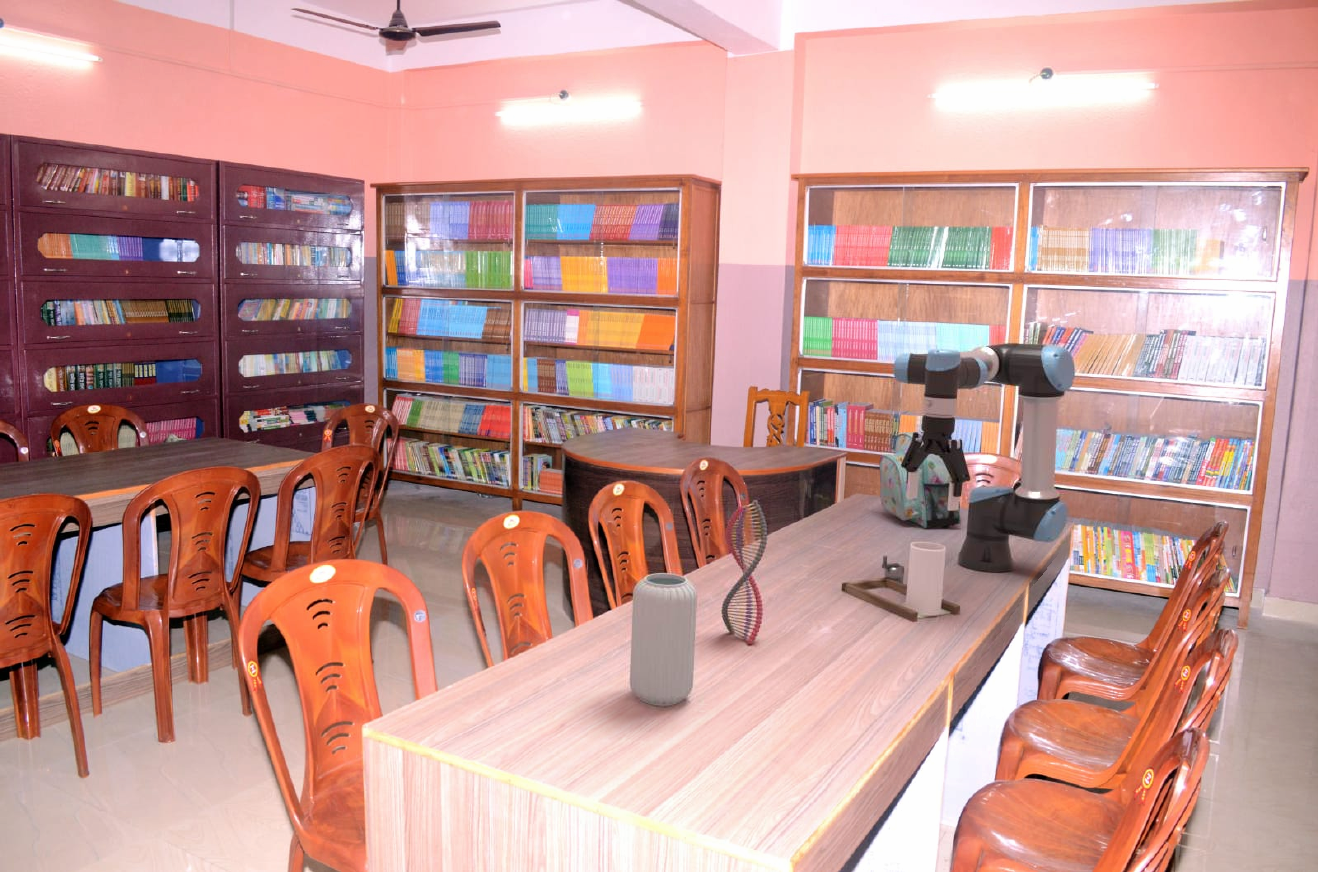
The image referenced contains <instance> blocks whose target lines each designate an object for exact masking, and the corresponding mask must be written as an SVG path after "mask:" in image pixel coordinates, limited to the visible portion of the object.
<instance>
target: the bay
mask: <svg viewBox="0 0 1318 872" xmlns="http://www.w3.org/2000/svg"><path fill="white" fill-rule="evenodd" d="M879 588H880V589H881V588H888V589H891V590H893V591H896V592H897V593H900V594H902V595H905V596H906V594H907V584H905V583H904V582H903V583H900V582H898V581H895V580H889V579H886V578H884V577H879V578H878V577H877V578H872V579H864V580H854V581H847V582H842V583H841V591H842V592H845V593H846V594H849V595H851V596H853V597H855V598H858V599H861V600H863V601H865V602H867V603H870V604H871V605H873V606H876V607H878V608H881V609H883V610H885V611H888V612H890V613H892V614H894V615H897V616H899V617H901V618H904V619H906V620H908V621H910V622H917V621H918V620H919V619H925V618H926V619H927V618H931V617H938V616H945V615H950V614H951V615H954V616H956V615H960V612H961V610H960V609H961V606H960V605H958V604H955V603H953V602H951V601H948V600H946V599H944V598H942V602H941V613H940V614H938V615H934V616H925V615H918V612H916V611H913V610H911V609H909V608H906V606H905V605H904V606H903V605H902V604H899V603H896V602H895V601H892V600H889V599H887V598H884V597H882V596H880V595H877V594H876V593H873V592H870V591H868V590H871V589H879Z"/></svg>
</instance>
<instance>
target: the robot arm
mask: <svg viewBox="0 0 1318 872" xmlns="http://www.w3.org/2000/svg"><path fill="white" fill-rule="evenodd" d="M1075 375H1076V368H1075V361H1074V359H1073V356H1072V354H1071V352H1070V351H1069V350H1068V349H1067V348H1065V347H1064V346H1057V345H1052V344H1039V343H1038V344H1037V343H1036V344H1035V343H1017V342H1009V343H1008V342H1007V343H998V344H991V345H986V346H984V345H983V346H978V347H974V348H973V349H972V350H965V351H959V350H958V349H957V350H955V349H941V348H937V349H935V348H934V349H930V350H928V352H927V353H914V352H910V353H900V354H898V356H897V357H896V358H895V360H894V362H893V376H894V378H895V380H896V381H898V382H899V383H902V384H903V383H904V384H907V385H909V384H910V385H923V386H924V394H923V404H922V405H923V406H922V412H923V416H922V418H921V431H913V432H914V433H913V437H912V441H911V444H910V446H909V448H908V450H907V452H906V454H905V457H904V459H903V461H902V463H901V467H902V468H905V469H906V471H907V480H906V483H907V484H908V485H907V498H906V499H916V498H917V492H918V479H919V472H915V471H918V468H919V466H920V465H921V464H922V463H923V461H924V460H925V459H926V458H927V456H928V455H929V454H934V455H937V456H939V457H940V458H941V459H942V460H943V462H944V464H945V466H946V468H947V470H948V472H949V474H950V477H951V479H952V481H951V482H950V485H949V497H948V509H947V510H949V511H952V510H958V508H959V502H960V497H961V496H962V494H963V493H962V492H963V485H964V484H963V483H965V482H970V481H971V476H970V472H969V469H968V464H967V461H966V457H965V454H964V450H963V449H964V448H963V439H961V438H960V439H952V435H953V434H954V433H955V426H956V418H955V417H954V416H956V415H957V403H958V391H959V390H973V389H975V388H980V387H981V386H982V385H984V383H985V382H988V383H995V384H1000V385H1005V386H1010V387H1011V386H1012V387H1018V393H1017V394H1018V396H1019V397H1020V398H1021V399H1022V400H1023V413H1022V414H1023V419H1022V420H1023V422H1022V441H1021V442H1022V445H1021V449H1022V450H1021V469H1020V485H1019V486H1018V487H1017V488H1016V489H1015V490H1014V488H1013V487H1012V486H1005V485H1002V486H1001V485H994V486H993V485H989V486H988V485H987V486H986V485H985V486H977V487H974V488H972V490H970V494H969V498H968V499H969V500H968V503H967V504H968V510H967V511H968V512H967V525H966V537H965V539H964V541H963V543H962V546H961V549H960V551H959V552H958V555H957V564H958V565H960V566H962V567H965V568H967V569H971V570H975V571H980V572H988V573H1004V572H1005V573H1006V572H1009V571H1012V570H1013V569H1014V568H1013V567H1014V560H1013V557H1012V552H1011V547H1010V542H1009V541H1010V540H1009V538H1010V536H1013V537H1018V538H1023V539H1026V540H1032V541H1034V542H1041V543H1042V542H1043V543H1053V542H1054V541H1056V540H1057V539H1058V538H1059V537H1060V536H1061V535H1062V534H1063V531H1064V529H1065V526H1066V524H1067V521H1068V515H1069V508H1068V505H1067V504H1066V503H1065V502H1063V501H1060V497H1061V495H1060V494H1061V493H1060V491H1059V490H1057V489H1056V487H1055V477H1056V472H1055V471H1056V457H1057V456H1056V455H1057V454H1056V452H1057V438H1058V437H1057V433H1058V432H1057V430H1058V413H1059V412H1058V410H1059V402H1060V400H1062V399H1063V398H1064V397H1065V391H1068V390H1070V389H1071V388H1072V386H1073V383H1074V379H1075ZM922 431H924V433H923V432H922ZM922 442H923V445H922ZM921 445H922V446H921ZM918 451H919V452H918ZM946 452H947V453H946Z"/></svg>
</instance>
